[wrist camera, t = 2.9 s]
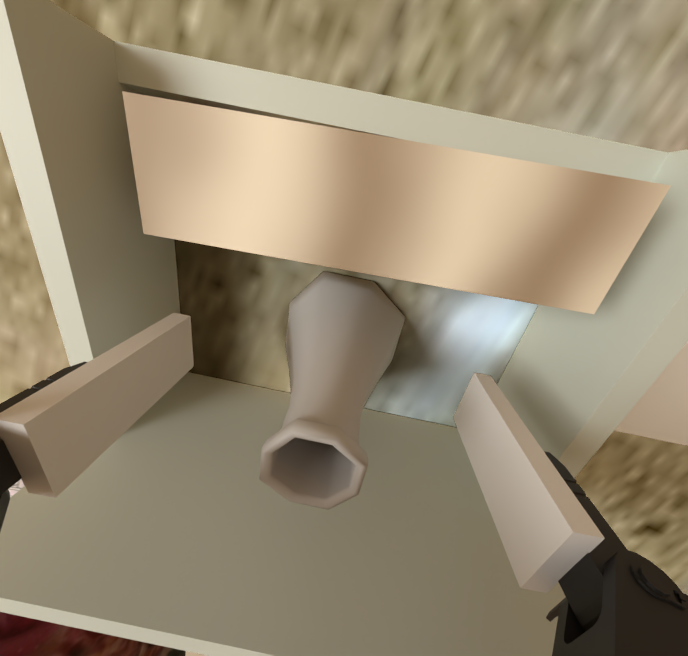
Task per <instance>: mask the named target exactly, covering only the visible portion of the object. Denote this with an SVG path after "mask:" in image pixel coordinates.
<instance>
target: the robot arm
mask: <svg viewBox="0 0 688 656" xmlns="http://www.w3.org/2000/svg"><path fill="white" fill-rule="evenodd" d="M193 367H194V361H193V346H192V331H191V317H190V316H188V315H183V314H178V313H172V314H171V315H169V316H167V317H165V318H164V319H162V320H160V321H158V322H157V323H155V324H153V325H151V326H150V327H148V328H146V329H145V330H143V331H141V332H139V333H138V334H136V335H134V336H132V337H131V338H129V339H127V340H126V341H124V342H122V343H120V344H119V345H117V346H115V347H113V348H112V349H110V350H108V351H107V352H105V353H103V354H101V355H100V356H98V357H96V358H94V359H93V360H91V361H89V362H82V363H79V364H76V365H73V366H70V367H67V368H64V369H62V370H61V371H59V372H57V373H55V374H53V375H52V376H50V377H48V378H47V379H46V380H43V381H41V382H39V383H37V384H35V385H33V386H32V388H31V389H26V390H24V391H23V392H21V393H19V394H17V395H15V396H14V397H12V398H10V399H8V400H6V401H5V402H3V403H1V404H0V532H1V528H2V525H3V522H4V518H5V515H6V512H7V508H8V505H9V501H10V492H9V490H8V489H9V488H10V487H12V486H13V485H14V484H15V483H16V482H18V481H19V480H20V479H21V480H22V482H23V484H24V486H25V487H26V489H27V491H28V493H32V494H37V495H42V496H47V497H52V498H56V497H57V496H58V495H59V494H60V493H62V492H63V491H64V490H65V489H66V488H67V487H68V486H69V485H70V484H71V483H72V482H73V481H74V480H75V479H76V478H77V477H78V476H79V475H80V474H81V473H83V472H84V471H85V470H86V469H87V468H88V467H89V466H90V465H91V464H92V463H93V462H94V461H95V460H96V459H97V458H98V457H99V456H100V455H101V454H102V453H103V452H105V451H106V450H107V449H108V448H109V447H110V446H111V445H112V444H113V443H114V442H115V441H116V440H117V439H118V438H119V437H120V436H121V435H122V434H123V433H124V432H125V431H127V430H128V429H129V428H130V427H131V426H132V425H133V424H134V423H135V422H136V421H137V420H138V419H139V418H140V417H141V416H142V415H143V414H144V413H145V412H146V411H147V410H149V409H150V408H151V407H152V406H153V405H154V404H155V403H156V402H157V401H158V400H159V399H160V398H161V397H162V396H163V395H164V394H165V393H166V392H167V391H168V390H170V389H171V388H172V387H173V386H174V385H175V384H176V383H177V382H178V381H179V380H180V379H181V378H182V377H183V376H184V375H185V374H186V373H187V372H188V371H189V370H190V369H192V368H193ZM453 419H454V422H455V424H456V427H457V429H458V432H459V434H460V437H461V439H462V442H463V444H464V447H465V450H466V452H467V455H468V457H469V460H470V462H471V465H472V467H473V470H474V472H475V475H476V477H477V480H478V482H479V485H480V488H481V490H482V493H483V495H484V498H485V500H486V503H487V505H488V508H489V510H490V513H491V515H492V518H493V521H494V523H495V526H496V528H497V531H498V533H499V536H500V538H501V541H502V543H503V546H504V548H505V551H506V554H507V556H508V559H509V561H510V564H511V566H512V569H513V571H514V574H515V576H516V579H517V581H518V584H519V587H520V588H522V589H527V590H533V591H538V592H543V593H548V592H549V591H550V590H551V589H552V588H553V587H554V586H555V585H556V584H557V583H558V582H559V584H560V586H561V588H562V590H563V592H564V594H565V596H566V597H565V598H564V599H563V600H562V601H561V602H560V603H559V604H557V605H556V606H555V607H554V608H553V609H552V610H551V611H549V613H548V615H547V616H546V618H547V619H548V620H549V621H550V622H551V621H552V620H553V619H554V618H556V617H557V616H558V621H557V627H556V633H555V640H554V646H553V652H552V656H688V595H686V594H684V593H682V592H681V590H680V589H679V588H678V586H677V585H676V584H675V583H674V582H673V581H672V580H671V579H670V578H669V577H668V576H667V575H666V574H665V573H664V572H663V571H662V570H661V569H659V568H658V567H657V566H656V565H654V564H653V563H652V562H650V561H649V560H647V559H646V558H644V557H642V556H640V555H639V554H637V553H634V552H631V551H628V550H627V549H626V548H625V546H624V545H623V544H622V542H621V541H620V539H619V538H618V537H617V535H616V534H615V533H614V531H613V530H612V529H611V527H610V526H609V525H608V523H607V522H606V521H605V519H604V518H603V517H602V515H601V514H600V513H599V511H598V510H597V509H596V507H595V506H594V505H593V503H592V502H591V501H590V499H589V498H588V497H586V494H585V492H584V491H583V490H582V488H581V487H580V486H579V484H576V480H575V479H574V478H573V476H572V475H571V474H570V472H569V471H568V470H567V468H566V467H565V466H564V465H563V464H562V463H561V462H560V461H559V460H558V459H556V458H555V457H554V456H553V455H552V454H551V453H550V452H545V451H543V450H542V448H541V447H540V445H539V444H538V442H537V441H536V440H535V438H534V437H533V435H532V434H531V433H530V431H529V430H528V428H527V427H526V425H525V424H524V423H523V421H522V420H521V418H520V417H519V415H518V414H517V413H516V411H515V410H514V408H513V407H512V406H511V404H510V403H509V401H508V400H507V398H506V397H505V396H504V394H503V393H502V391H501V390H500V388H499V387H498V386H497V384H496V383H495V381H494V380H493V378H492V377H491V376H490V375H485V374H480V373H474V374H473V376H472V378H471V380H470V382H469V384H468V386H467V389H466V391H465V393H464V395H463V397H462V399H461V401H460V403H459V406H458V408H457V410H456V412H455V414H454V416H453Z"/></svg>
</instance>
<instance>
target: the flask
mask: <svg viewBox="0 0 688 656" xmlns="http://www.w3.org/2000/svg"><path fill="white" fill-rule="evenodd" d="M404 320H405V317H404V315H403V314H402V313H401V312H400V311H399V310H398V309H397V307H396V306H395V305H394V304H393V303H392V302H391V301H390V299H389V298H388V297H387V296H386V295H385V294H384V293H383V292H382V290H381V289H380V288H379V287H378V286H377V285H376V284H375V282H374V281H369V280H364V279H359V278H354V277H349V276H344V275H340V274H335V273H330V272H325V271H323V272H322V273H321V274H320V275H319V276H318V277H317V278H316V279H315V280H314V281H313V282H311V283H310V284H309V285H308V286H307V287H306V288H305V289H304V290H303V291H302V292H301V293H300V294H299V295H298V296H297V297H295V298H294V299H293V300H292V301H291V302H290V304H289V314H288V323H287V333H286V343H285V347H286V354H287V360H288V366H289V376H290V388H291V399H290V406H289V409H288V411H287V414H286V416H285V419H284V422H283V424H282V427H281V429H280V430H279V431H278V432H276V433H275V434H274V435H272V436H271V437H269V438H268V439H267V440H266V442H265V443H264V445H263V447H262V450H261V462H260V475H259V480H261V481H262V482H263V483H265V484H266V485H268V486H269V487H270V488H272V489H273V490H274V491H276V492H277V493H278V494H280V495H281V496H282V497H284V498H285V499H287V500H288V501H289V502H294V503H298V504H303V505H308V506H313V507H318V508H322V509H327V510H329V509H331V508H333V507H335V506H337V505H339V504H341V503H343V502H345V501H347V500H349V499H351V498H353V497H355V496H357V495H359V492H360V489H361V486H362V483H363V480H364V476H365V473H366V470H367V467H368V456H367V453H366V451H365V450H364V449H363V448H361V447H360V446H359V429H360V417H361V414H362V410H363V407H364V406H365V404H366V402H367V400H368V399H369V397H370V395H371V393H372V391H373V390H374V388H375V386H376V384H377V383H378V381H379V379H380V378H381V376H382V375H383V373H384V372H385V370H386V369H387V367H388V366H389V364H390V363H391V361H392V359H393V356H394V353H395V350H396V347H397V343H398V340H399V337H400V333H401V330H402V327H403V324H404Z"/></svg>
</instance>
